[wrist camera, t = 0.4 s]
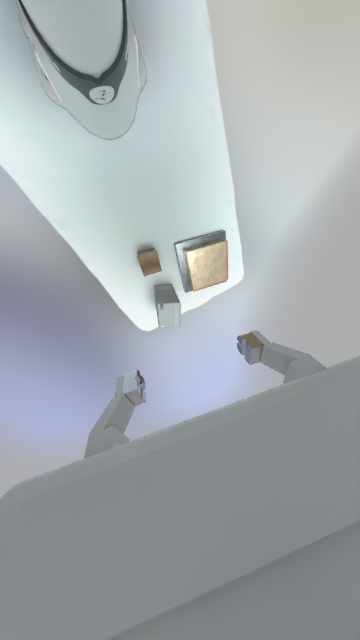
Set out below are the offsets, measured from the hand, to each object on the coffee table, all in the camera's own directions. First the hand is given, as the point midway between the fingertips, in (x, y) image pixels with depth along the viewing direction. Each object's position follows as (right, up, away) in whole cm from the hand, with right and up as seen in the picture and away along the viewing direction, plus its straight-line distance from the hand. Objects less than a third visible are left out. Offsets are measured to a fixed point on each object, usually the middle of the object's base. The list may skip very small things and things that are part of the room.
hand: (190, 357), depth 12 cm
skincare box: (-7, +12, +43) cm, 45 cm away
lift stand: (+7, +23, +40) cm, 46 cm away
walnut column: (-11, +22, +35) cm, 43 cm away
